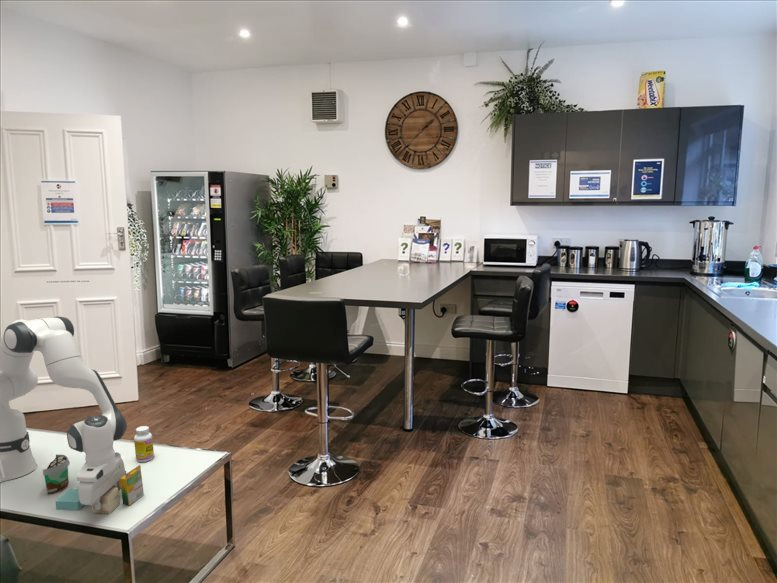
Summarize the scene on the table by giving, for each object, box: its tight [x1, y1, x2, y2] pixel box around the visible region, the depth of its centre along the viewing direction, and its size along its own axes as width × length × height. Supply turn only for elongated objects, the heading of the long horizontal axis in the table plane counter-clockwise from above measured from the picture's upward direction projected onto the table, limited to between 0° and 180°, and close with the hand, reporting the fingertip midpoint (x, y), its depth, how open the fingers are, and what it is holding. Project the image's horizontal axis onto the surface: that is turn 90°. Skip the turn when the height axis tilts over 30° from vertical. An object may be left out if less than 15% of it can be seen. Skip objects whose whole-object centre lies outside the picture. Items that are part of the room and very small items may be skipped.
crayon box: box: [120, 464, 145, 507], centre depth 199 cm, size 7×3×12 cm, turn 162°
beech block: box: [91, 487, 121, 515], centre depth 195 cm, size 6×6×6 cm
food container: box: [42, 454, 71, 495], centre depth 209 cm, size 12×6×10 cm, turn 9°
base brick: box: [54, 488, 85, 511], centre depth 198 cm, size 8×8×3 cm
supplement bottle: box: [133, 425, 155, 463], centre depth 229 cm, size 7×7×13 cm
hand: (105, 502), depth 195 cm, fingers closed on beech block, 6 cm apart
